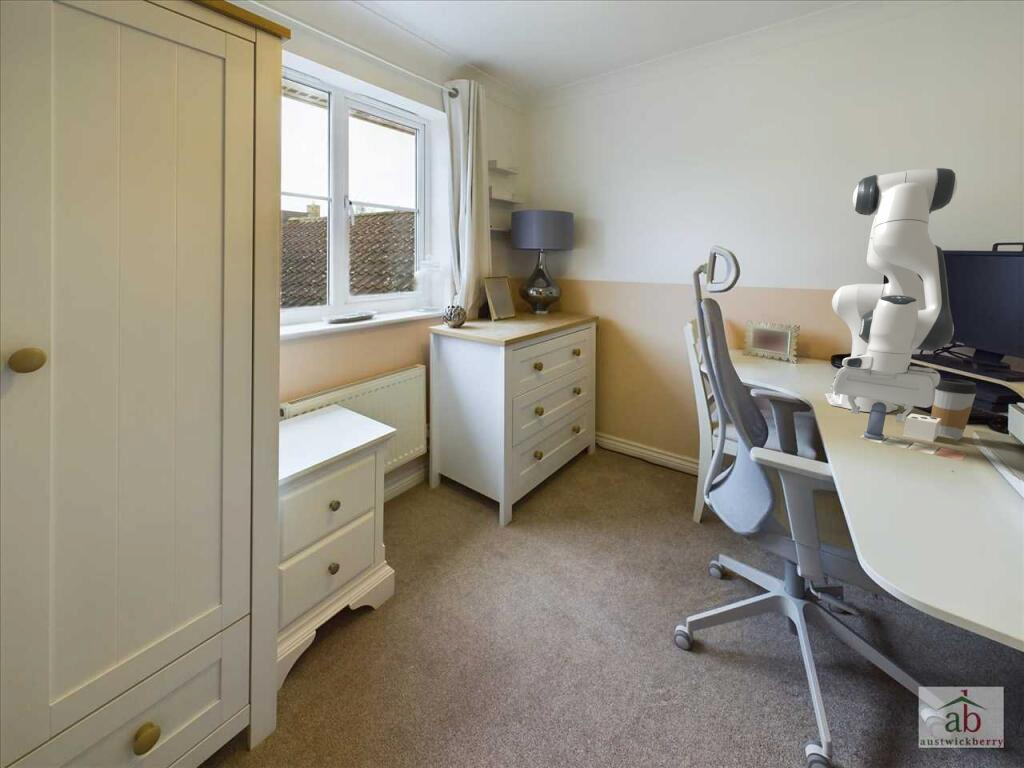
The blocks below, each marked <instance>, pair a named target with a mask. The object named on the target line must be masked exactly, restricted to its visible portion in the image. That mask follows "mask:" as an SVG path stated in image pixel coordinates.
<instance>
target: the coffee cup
mask: <svg viewBox="0 0 1024 768" xmlns="http://www.w3.org/2000/svg"><path fill="white" fill-rule="evenodd" d="M977 390H978V387H977V383H976V382H973V381H969V380H964V379H956V378H955V379H954V378H940V382H939V385H938V386H937V387H935V401H934V404H933V405H932V406H931V407H932V408H931V413H930V414H931V415H930V417H935V418H941V422H940V427H939V432H938V435H940V436H944V437H950V438H953V439H955V440H957V441H960V440H961V439H962V437H963V435H964V432H965V429H966V428H967V424H968V421H969V418H970V414H971V412H972V409H973V404H974V401H975V397H976V395H977V394H978V391H977Z"/></svg>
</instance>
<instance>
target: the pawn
mask: <svg viewBox="0 0 1024 768" xmlns="http://www.w3.org/2000/svg"><path fill="white" fill-rule="evenodd" d="M886 409H887V407H886V405H885V404H884V403H882V402H876V403H874V404H873V405H872V409H871V410H870V412H869V417H868V423H867V427H866V431H864V434H863V435H864V437H866V438H869V439H873V440H883V438H884V436H885V435H884V434H883V431H884V426H885V420H886V415H887V412H886Z"/></svg>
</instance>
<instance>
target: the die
mask: <svg viewBox="0 0 1024 768" xmlns="http://www.w3.org/2000/svg"><path fill="white" fill-rule="evenodd" d="M940 422H941V418H935V417H931V416H929V415H928V416H927V415H924V414H917V413H910V414H909V415H908V416H906V418H905V422H904V428H903V434H902V436H903V437H908V438H912V439H918V440H921V441H922V440H923V441H928V442H934V441H936V439H937V438H938V435H939V434H938V432H939V427H940Z"/></svg>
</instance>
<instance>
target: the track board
mask: <svg viewBox="0 0 1024 768" xmlns="http://www.w3.org/2000/svg"><path fill="white" fill-rule="evenodd" d="M858 439H860V440H864V441H869V442H874V443H879V444H883V445H887V446H892V447H897V448H900V449H901V448H902V449H904V450H905V449H908V450H911V451H915V452H920V453H925V454H930V455H935V456H937V457H943V458H947V459H953V460H957V461H963V460H964V458H965V456H967V452H964V451H959V450H952V449H949V448H943V447H940V449H939V446H933V445H929V444H926V443H925V444H924V443H920V442H914V443H913V441H911V440H905V439H900V438H895V437H890V436H889V437H888V436H886V435H884V438H883V440H873V439H869V438H866V437H864V434H862V435H861V436H859V437H858Z"/></svg>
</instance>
